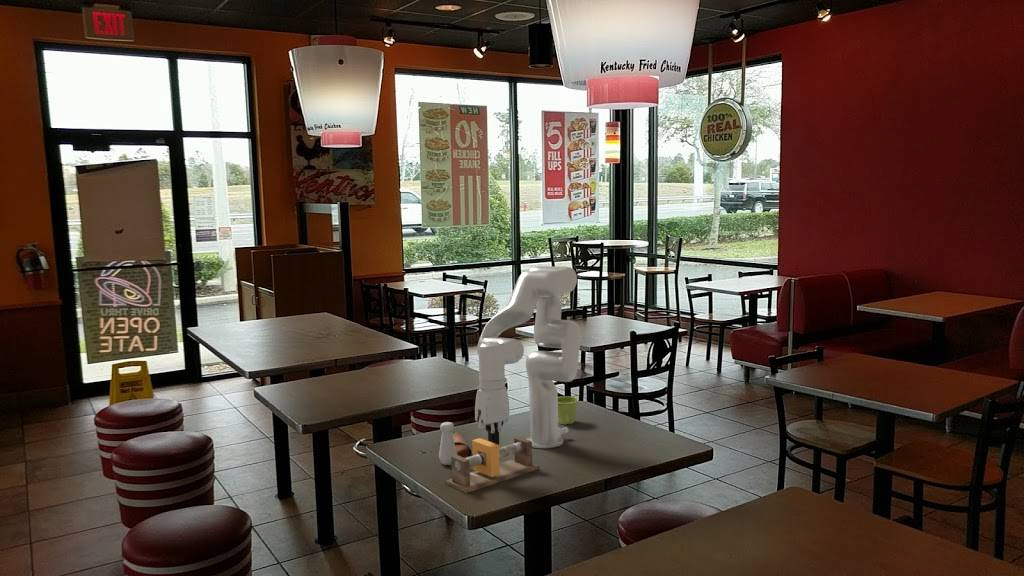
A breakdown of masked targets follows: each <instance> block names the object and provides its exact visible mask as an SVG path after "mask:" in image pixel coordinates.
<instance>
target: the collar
mask: <svg viewBox="0 0 1024 576" xmlns="http://www.w3.org/2000/svg"><path fill="white" fill-rule="evenodd" d="M471 444H472V445H471V447H472V448H471V451H472V454H471V455H472V456H474V455H476V454H479V453H486V463H483V464H481V465H477V466H473V467H472V469H473V471H478V472H481V473H483V474H485V475H488V476H490V477H494V476H497V475H500V465H499V464H500V458H499V448H500V444H499V445H498V444H495V443H492V442H490V441H488V440H486V439H484V438H482V437H481V438H480V437H479V438H475V439H472V440H471Z"/></svg>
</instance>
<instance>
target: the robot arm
mask: <svg viewBox="0 0 1024 576" xmlns="http://www.w3.org/2000/svg"><path fill="white" fill-rule="evenodd" d="M577 282H578V276H577V273H576V271H575V269H574V268H572V267H570V266H552V265H551V266H548V265H540V266H534V267H531V268H529V269H528V270H526V271H523V272H522V273H521V274H520V275H519V276H518V278H517V280H516V282H515V285H514V288H513V291H512V292H511V296H510V298H509V300H508V301H507V302H508V303H507V305H506V307H505V308H504V309H502V310H500V311H499V312H498V313H497V314H495V315H494V316H493V317H492V318H490V320H489V321H488V322H486V323H485V326H484V327H483V329H482V332H481V334H480V336H479V339H478V343H477V348H476V351H477V356H478V371H479V373H478V374H479V376H478V378H479V379H478V380H479V389H477V391H476V396H475V405H474V420H475V422H477V423H478V425H477V428H479V429H481V430H485V431H486V432H487V439H488V440H487V441H490V442H492V443H495V444H498V445H499V446H500V432H501V431H502V427H503V425H505V424H506V423H508V422H509V417H510V401H509V400H510V399H509V395H508V390H507V387H506V383H507V381H508V379H507V377H505V376H506V374H505V365H512V364H516V363H518V362H520V360H522V358H523V356H524V352H525V347H524V345H523V343H522V342H521V341H520V340H518V339H517V338H516V339H515V338H510V337H509V338H508V337H499V336H500V335H502V333H503V332H505V331H506V330H509V329H511V328H513V327H516V326H519V325H522V324H524V323H526V322H528V321H530V320H531V319H532V317H533V315H534V312H535V310H536V312H535V320H534V329H533V341H534V343H535V345H537V346H539V347H543V348H552V349H554V348H555V349H561V351H560V352H559V351H552V350H551V351H550V350H548V351H547V350H534V351H532V352H530V353H529V354H528V355H527V357H526V359H525V371H526V375H527V381H528V393H529V395H528V396H529V397H528V398H529V429H530V430H529V432H530V433H529V435H530V436H529V437H527V438H526V439H527V440H530V441H532V448H534V449H535V448H536V449H555V448H557V447H561V446H562V445H563V444H564V438H563V437H562V435H563V434H567V433H569V428H568V427H567V426H565V427H561V428H560V426H559V422H558V397H559V396H558V395H559V393H558V390H557V387H556V385H555V383H554V382H553V381H555V382H563V383H564V382H565V383H566V382H567V383H568V382H569V383H570V382H573V380H575V378H576V376H577V373H578V366H579V360H580V359H579V358H580V350H581V349H580V348H581V338H582V337H581V329H580V326H579V324H578V323H577V322H576V321H574V320H569V319H562V310H563V309H562V308H563V307H562V301H561V300H560V298H559V297H562V296H564V295H567V294H570V293H571V292H572V291H573V290H575V288H576V285H577ZM535 308H536V309H535Z"/></svg>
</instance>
